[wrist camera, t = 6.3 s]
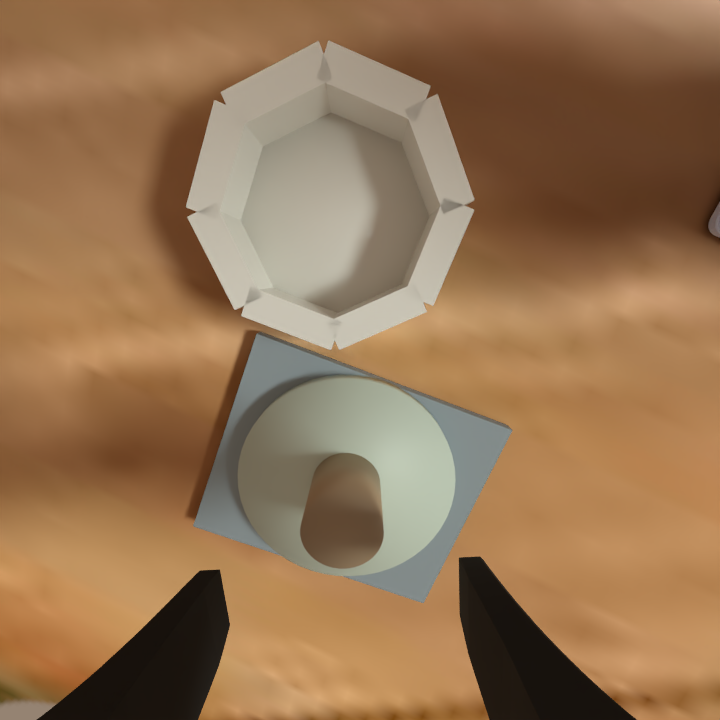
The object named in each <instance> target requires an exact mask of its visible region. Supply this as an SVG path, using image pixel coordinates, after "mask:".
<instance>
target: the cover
mask: <svg viewBox="0 0 720 720" xmlns="http://www.w3.org/2000/svg"><path fill="white" fill-rule="evenodd" d="M455 481H456V480H455V466H454V461H453V457H452V453H451V450H450V448H449V445H448V442H447V440H446V438H445V436H444V434H443V432H442V430H441V428H440V427H439V425H438V423H437V421H436V420H435V419H434V417H433V416H432V415H431V413H430V412H429V411H428V410H427V409H426V408H425V407H424V406H423V405H422V404H421V403H420V402H419V401H418V400H417V399H415V398H414V397H413V396H412V395H410V394H409V393H407V392H406V391H404V390H402V389H401V388H399V387H397V386H395V385H393V384H390V383H388V382H386V381H383V380H379V379H376V378H372V377H368V376H361V375H347V374H340V375H330V376H324V377H320V378H316V379H312V380H309V381H307V382H304V383H301V384H299V385H297V386H295V387H293V388H292V389H290V390H288V391H286V392H285V393H284V394H282V395H281V396H279V397H278V398H277V399H276V400H275V401H273V402H272V403H271V404H270V405H269V406H268V407H267V408H266V409H265V411H264V412H263V413H262V415H261V416H260V417H259V418H258V420H257V421H256V422H255V424H254V425H253V427H252V429H251V430H250V432H249V434H248V435H247V437H246V440H245V442H244V445H243V447H242V450H241V454H240V458H239V463H238V489H239V494H240V499H241V502H242V505H243V508H244V511H245V513H246V515H247V517H248V519H249V521H250V523H251V525H252V526H253V528H254V529H255V530H256V532H257V533H258V535H259V536H260V537H261V538H262V539H263V540H264V541H265V542H266V543H267V544H268V545H269V546H270V547H271V548H272V549H273V550H274V551H276V552H277V553H278V554H280V555H281V556H283V557H284V558H286V559H287V560H289V561H291V562H293V563H295V564H297V565H299V566H301V567H304V568H306V569H309V570H312V571H315V572H319V573H323V574H329V575H336V576H360V575H368V574H373V573H378V572H381V571H384V570H387V569H390V568H393V567H395V566H397V565H399V564H401V563H403V562H405V561H407V560H408V559H410V558H412V557H413V556H415V555H416V554H417V553H418V552H420V551H421V550H422V549H424V548H425V547H426V546H427V545H428V544H429V543H430V541H431V540H432V539H433V538H434V537H435V536H436V534H437V533H438V532H439V530H440V529H441V527H442V525H443V524H444V522H445V520H446V518H447V516H448V513H449V511H450V508H451V506H452V502H453V497H454V493H455Z"/></svg>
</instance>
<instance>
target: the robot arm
mask: <svg viewBox="0 0 720 720" xmlns="http://www.w3.org/2000/svg"><path fill="white" fill-rule="evenodd" d="M709 230H710V232H711V233H712V234H713V235H715V236H717V237H719V238H720V202H719V204H718V206H717V207H716V209H715V211H714V213H713V215H712V216H711V218H710V221H709ZM459 596H460V618H461V622H462V627H463V632H464V636H465V641H466V645H467V649H468V654H469V657H470V660H471V663H472V667H473V670H474V673H475V676H476V679H477V682H478V685H479V688H480V691H481V695H482V698H483V701H484V704H485V707H486V710H487V713H488V716H489V719H490V720H636V719H635V718H634V717H633V716H631V715H630V714H629V713H628V712H627V711H625V710H624V709H623V708H622V707H621V706H619V705H618V704H617V703H616V702H615V701H614V700H613V699H612V698H610V697H609V696H608V695H607V694H606V693H605V692H604V691H602V690H601V689H600V688H599V687H598V686H597V685H596V684H595V683H594V682H593V681H592V680H590V679H589V678H588V677H587V676H586V675H585V674H584V673H583V672H582V671H581V670H580V669H579V668H578V667H577V666H576V665H575V664H574V663H573V662H572V661H571V660H570V659H569V658H568V657H567V656H566V655H565V654H564V653H563V652H562V651H561V650H560V649H559V648H558V647H557V646H556V645H555V644H554V643H553V642H552V641H551V640H550V639H549V638H548V637H547V636H546V635H545V634H544V633H543V631H542V630H541V629H540V628H539V627H538V626H537V625H536V624H535V623H534V622H533V620H532V619H531V618H530V617H529V616H528V615H527V614H526V612H525V611H524V610H523V609H522V608H521V607H520V606H519V604H518V603H517V602H516V601H515V600H514V598H513V597H512V596H511V595H510V594H509V592H508V591H507V590H506V589H505V587H504V586H503V585H502V584H501V582H500V581H499V580H498V579H497V577H496V576H495V575H494V574H493V572H492V571H491V570H490V568H489V567H488V566H487V564H486V563H485V562H484V560H483V559H482V558H481V557H463V558H459ZM229 626H230V623H229V617H228V612H227V606H226V601H225V595H224V590H223V585H222V579H221V574H220V570H203V571H199V572H198V573H197V574H196V575H195V576H194V577H193V578H192V579H191V580H190V581H189V582H188V583H187V584H186V585H185V586H184V587H183V588H182V589H181V590H180V591H179V592H178V593H177V594H176V595H175V596H174V597H173V598H172V599H171V600H170V601H169V602H168V603H167V604H166V605H165V606H164V607H163V608H162V609H161V610H160V611H159V612H158V613H157V614H156V615H155V616H154V617H153V618H152V619H151V620H150V621H149V622H148V623H147V624H146V625H145V626H144V627H143V628H142V629H141V630H140V631H139V632H138V633H137V634H136V635H135V636H134V637H133V638H132V639H131V640H130V641H129V642H127V643H126V644H125V645H124V646H123V647H122V648H121V649H120V650H119V651H118V652H117V653H116V654H115V655H113V656H112V657H111V658H110V659H109V660H108V661H107V662H106V663H105V664H104V665H103V666H102V667H100V668H99V669H98V670H97V671H96V672H95V673H94V674H92V675H91V676H90V677H89V678H88V679H87V680H85V681H84V682H83V683H82V684H81V685H80V686H78V687H77V688H76V689H75V690H74V691H72V692H71V693H70V694H69V695H67V696H66V697H65V698H64V699H63V700H61V701H60V702H59V703H58V704H57V705H55V706H54V707H53V708H52V709H50V710H49V711H48V712H46V713H45V714H44V715H43V716H41V717H40V718H38V719H37V720H198V718H199V715H200V713H201V710H202V708H203V705H204V703H205V700H206V698H207V695H208V692H209V690H210V687H211V685H212V682H213V679H214V677H215V674H216V671H217V669H218V666H219V663H220V659H221V656H222V653H223V649H224V645H225V642H226V638H227V634H228V630H229Z"/></svg>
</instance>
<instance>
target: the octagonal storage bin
mask: <svg viewBox="0 0 720 720" xmlns="http://www.w3.org/2000/svg"><path fill="white" fill-rule="evenodd" d="M430 87H431V86H430V85H428V84H426V83H423V82H421V81H419V80H417V79H414V78H412V77H410V76H408V75H405V74H403V73H401V72H399V71H396V70H394V69H392V68H390V67H387V66H385V65H383V64H381V63H378V62H376V61H374V60H372V59H369V58H367V57H365V56H363V55H360V54H358V53H356V52H354V51H351V50H349V49H347V48H345V47H342V46H340V45H338V44H336V43H333V42H331V41H329V40H328V43H327V46H326V49H325V53H323V51H322V48H321V46H320V43H319V41H317V42H315V43H313V44H311V45H309V46H308V47H306V48H304V49H302V50H300V51H298V52H296V53H294V54H292V55H290V56H288V57H287V58H285V59H283V60H281V61H279V62H277V63H275V64H273V65H271V66H269V67H267V68H266V69H264V70H262V71H260V72H258V73H256V74H254V75H252V76H250V77H248V78H246V79H245V80H243V81H241V82H239V83H237V84H235V85H233V86H231V87H229V88H227V89H225V90H223V91H222V92H221V94H222V97H223V99H224V101H225V103H226V105H225V104H223V103H220V102H218V101H216V100H214V103H213V107H212V110H211V114H210V118H209V122H208V125H207V129H206V133H205V137H204V140H203V144H202V148H201V152H200V155H199V159H198V163H197V167H196V170H195V174H194V178H193V182H192V185H191V189H190V193H189V197H188V201H187V204H186V208H189V209H191V210H194V211H196V213H194V214H192V215H190V216H188V217H187V218H188V220H189V222H190V224H191V226H192V228H193V230H194V232H195V234H196V236H197V237H198V239H199V241H200V243H201V245H202V247H203V249H204V251H205V253H206V255H207V257H208V259H209V261H210V263H211V265H212V267H213V269H214V271H215V273H216V275H217V277H218V279H219V281H220V282H221V284H222V286H223V288H224V290H225V292H226V294H227V296H228V298H229V300H230V302H231V304H232V306H233V308H234V310H236V309H240V308H243V311H242V315H241V316H242V317H245V318H248V319H250V320H253V321H255V322H258V323H261V324H263V325H266V326H269V327H271V328H274V329H277V330H279V331H282V332H284V333H287V334H290V335H292V336H295V337H298V338H300V339H303V340H305V341H308V342H311V343H313V344H316V345H319V346H321V347H324V348H326V349H329V350H331V349H332V346H333V344H334V342H336V344H337V346H338V348H339V350H340V349H342V348H345V347H347V346H349V345H352V344H354V343H356V342H359V341H361V340H363V339H366V338H368V337H370V336H373V335H375V334H377V333H379V332H382V331H384V330H386V329H389V328H391V327H393V326H396V325H398V324H400V323H403V322H405V321H407V320H409V319H412V318H414V317H416V316H419V315H421V314H423V313H426V312H427V311H426V308H425V306H424V303H423V302H425V303H427V304H430V305H432V306H433V305H434V303H435V300H436V298H437V296H438V293H439V291H440V289H441V286H442V284H443V282H444V280H445V277H446V275H447V273H448V270H449V268H450V266H451V263H452V261H453V259H454V256H455V254H456V252H457V249H458V247H459V245H460V242H461V240H462V238H463V235H464V233H465V231H466V228H467V226H468V224H469V221H470V219H471V217H472V214H473V212H474V209H472V208H469V207H467V205H468V204H470V203H471V202H473V201H474V200H475V199H474V196H473V194H472V191H471V188H470V185H469V182H468V179H467V176H466V174H465V171H464V168H463V165H462V162H461V159H460V156H459V153H458V151H457V148H456V145H455V142H454V139H453V136H452V133H451V131H450V128H449V125H448V122H447V119H446V116H445V113H444V111H443V108H442V105H441V102H440V99H439V96H438V94H436V95H434V96H432V97H429V98H427V95H428V93H429V90H430ZM426 98H427V99H426Z"/></svg>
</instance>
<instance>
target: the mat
mask: <svg viewBox="0 0 720 720" xmlns="http://www.w3.org/2000/svg"><path fill="white" fill-rule="evenodd" d="M340 374H347V375H361V376H368V377H372V378H376V379H379V380H383V381H386V382H388V383H390V384H393V385H395V386H397V387H399V388H401V389H402V390H404V391H406V392H407V393H409V394H410V395H412V396H413V397H414V398H415V399H417V400H418V401H419V402H420V403H421V404H422V405H423V406H424V407H425V408H426V409H427V410H428V411H429V412H430V413H431V415H432V416H433V417H434V419H435V420H436V421H437V423H438V425H439V427H440V428H441V430H442V432H443V434H444V436H445V438H446V440H447V442H448V445H449V448H450V450H451V453H452V457H453V461H454V466H455V480H456V481H455V493H454V497H453V502H452V506H451V508H450V511H449V513H448V516H447V518H446V520H445V522H444V524H443V525H442V527H441V529H440V530H439V532H438V533H437V534H436V536H435V537H434V538H433V539H432V540H431V541H430V543H429V544H428V545H427V546H426V547H425V548H424V549H422V550H421V551H420V552H418V553H417V554H416V555H415V556H413V557H412V558H410V559H408V560H407V561H405V562H403V563H401V564H399V565H397V566H395V567H393V568H390V569H387V570H384V571H381V572H378V573H373V574H368V575H360V576H344V577H347V578H350V579H353V580H356V581H359V582H362V583H365V584H368V585H371V586H374V587H377V588H379V589H382V590H385V591H388V592H391V593H394V594H397V595H400V596H403V597H406V598H409V599H412V600H415V601H418V602H421V603H424V601H425V599H426V597H427V595H428V593H429V591H430V589H431V587H432V585H433V583H434V582H435V580H436V578H437V576H438V574H439V572H440V570H441V568H442V566H443V564H444V562H445V560H446V558H447V556H448V554H449V552H450V550H451V549H452V547H453V545H454V543H455V541H456V539H457V537H458V535H459V533H460V531H461V529H462V527H463V525H464V523H465V521H466V519H467V517H468V515H469V514H470V512H471V510H472V508H473V506H474V504H475V502H476V500H477V498H478V496H479V494H480V492H481V490H482V488H483V486H484V484H485V482H486V481H487V479H488V477H489V475H490V473H491V471H492V469H493V467H494V465H495V463H496V461H497V459H498V457H499V455H500V453H501V451H502V449H503V448H504V446H505V444H506V442H507V440H508V438H509V436H510V434H511V432H512V429H511V428H510V427H509V426H508V425H506V424H503V423H500V422H498V421H495V420H493V419H490V418H487V417H485V416H482V415H479V414H477V413H474V412H471V411H469V410H466V409H463V408H461V407H458V406H456V405H453V404H450V403H448V402H445V401H442V400H440V399H437V398H434V397H432V396H429V395H426V394H424V393H421V392H419V391H416V390H413V389H411V388H408V387H405V386H403V385H400V384H397V383H395V382H392V381H390V380H387V379H384V378H382V377H379V376H376V375H374V374H371V373H368V372H366V371H363V370H360V369H358V368H355V367H353V366H350V365H347V364H345V363H342V362H339V361H337V360H334V359H331V358H329V357H326V356H324V355H321V354H318V353H316V352H313V351H310V350H308V349H305V348H302V347H300V346H297V345H294V344H292V343H289V342H287V341H284V340H281V339H279V338H276V337H273V336H271V335H268V334H265V333H263V332H259V333H257V334H256V337H255V340H254V343H253V346H252V349H251V352H250V355H249V358H248V361H247V364H246V367H245V370H244V373H243V376H242V380H241V383H240V386H239V389H238V392H237V395H236V398H235V401H234V404H233V407H232V410H231V413H230V416H229V419H228V422H227V425H226V428H225V431H224V434H223V437H222V440H221V443H220V446H219V449H218V452H217V455H216V458H215V461H214V464H213V467H212V471H211V474H210V477H209V480H208V483H207V486H206V489H205V492H204V495H203V498H202V501H201V504H200V507H199V510H198V513H197V516H196V519H195V522H194V525H193V526H194V527H197V528H200V529H203V530H206V531H209V532H212V533H215V534H218V535H221V536H224V537H227V538H230V539H233V540H236V541H239V542H242V543H245V544H248V545H251V546H254V547H257V548H260V549H263V550H266V551H269V552H272V553H275V554H278V553H277V552H276V551H274V550H273V549H272V548H271V547H270V546H269V545H268V544H267V543H266V542H265V541H264V540H263V539H262V538H261V537H260V536H259V535H258V533H257V532H256V530H255V529H254V528H253V526H252V525H251V523H250V521H249V519H248V517H247V515H246V513H245V511H244V508H243V505H242V502H241V499H240V494H239V489H238V463H239V458H240V454H241V450H242V447H243V445H244V442H245V440H246V437H247V435H248V434H249V432H250V430H251V429H252V427H253V425H254V424H255V422H256V421H257V420H258V418H259V417H260V416H261V415H262V413H263V412H264V411H265V409H266V408H267V407H268V406H269V405H270V404H271V403H272V402H273V401H275V400H276V399H277V398H278V397H279V396H281V395H282V394H284V393H285V392H286V391H288V390H290V389H292V388H293V387H295V386H297V385H299V384H301V383H304V382H307V381H309V380H312V379H316V378H320V377H324V376H330V375H340ZM278 555H280V554H278Z"/></svg>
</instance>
